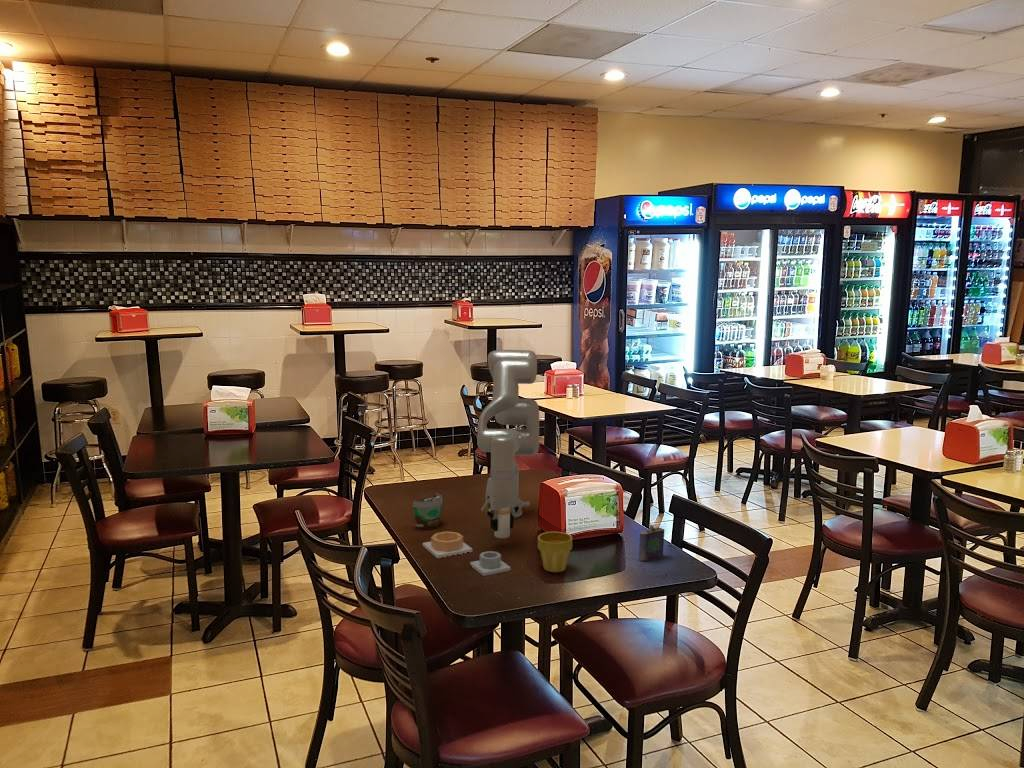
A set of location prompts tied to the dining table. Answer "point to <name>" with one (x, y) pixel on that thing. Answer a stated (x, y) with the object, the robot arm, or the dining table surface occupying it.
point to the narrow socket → (490, 564)
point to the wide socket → (447, 544)
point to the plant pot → (554, 550)
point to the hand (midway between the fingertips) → (502, 527)
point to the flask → (651, 544)
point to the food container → (427, 512)
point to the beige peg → (503, 523)
